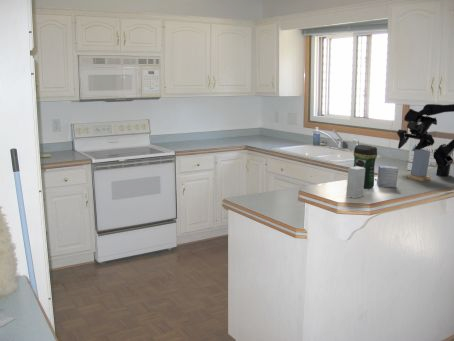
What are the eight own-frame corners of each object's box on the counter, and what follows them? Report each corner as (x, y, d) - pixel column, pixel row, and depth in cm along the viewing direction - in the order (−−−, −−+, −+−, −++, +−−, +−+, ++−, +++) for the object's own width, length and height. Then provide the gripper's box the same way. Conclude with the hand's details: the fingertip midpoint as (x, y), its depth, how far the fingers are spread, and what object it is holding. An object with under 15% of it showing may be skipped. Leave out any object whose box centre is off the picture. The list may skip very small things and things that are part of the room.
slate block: (418, 173, 238) (422, 149, 235) (426, 176, 234) (430, 151, 231) (410, 174, 236) (414, 149, 233) (418, 176, 231) (422, 151, 229)
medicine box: (394, 185, 222) (396, 166, 220) (396, 187, 218) (398, 168, 216) (376, 184, 223) (378, 165, 221) (378, 186, 219) (380, 167, 217)
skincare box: (354, 194, 204) (357, 165, 201) (362, 196, 201) (366, 167, 198) (345, 196, 200) (348, 167, 197) (354, 198, 197) (357, 169, 194)
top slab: (416, 176, 240) (416, 173, 239) (429, 179, 234) (430, 176, 234) (408, 177, 236) (408, 174, 235) (421, 180, 230) (422, 177, 230)
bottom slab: (416, 178, 241) (416, 175, 240) (430, 182, 234) (431, 179, 234) (406, 180, 236) (406, 177, 236) (421, 184, 230) (421, 181, 229)
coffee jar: (376, 187, 216) (381, 146, 212) (366, 190, 211) (371, 147, 207) (357, 183, 223) (361, 142, 219) (347, 185, 217) (351, 144, 213)
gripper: (401, 113, 250) (384, 136, 246) (434, 117, 235) (417, 142, 231) (409, 128, 256) (392, 150, 252) (441, 133, 241) (425, 157, 237)
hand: (406, 149), depth 243 cm, fingers open, 9 cm apart
